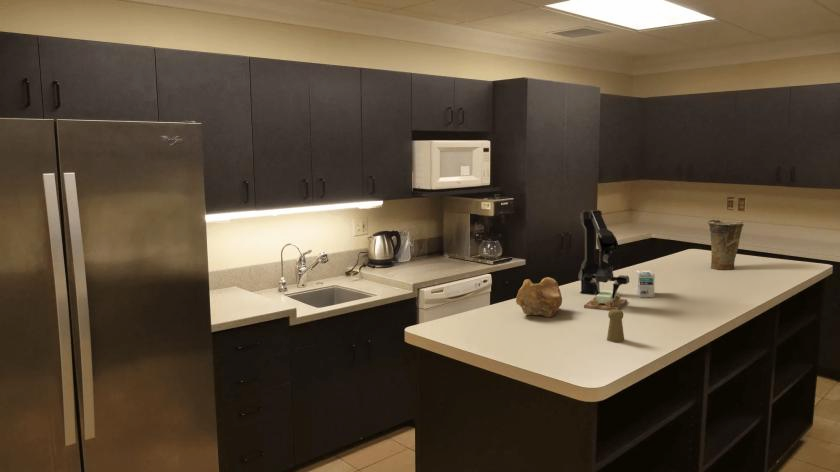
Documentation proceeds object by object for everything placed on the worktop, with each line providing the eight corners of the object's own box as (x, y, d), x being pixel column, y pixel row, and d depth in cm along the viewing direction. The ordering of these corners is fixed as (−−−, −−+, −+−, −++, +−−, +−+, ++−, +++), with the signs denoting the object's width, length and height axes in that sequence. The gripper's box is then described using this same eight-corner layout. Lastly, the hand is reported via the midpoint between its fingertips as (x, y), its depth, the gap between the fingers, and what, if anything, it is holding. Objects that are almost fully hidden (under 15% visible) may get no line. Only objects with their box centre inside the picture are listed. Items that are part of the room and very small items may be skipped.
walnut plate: (584, 307, 272) (584, 300, 272) (595, 299, 287) (595, 292, 287) (616, 311, 265) (616, 303, 265) (627, 302, 280) (627, 295, 280)
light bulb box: (654, 297, 287) (655, 274, 286) (639, 297, 289) (639, 274, 287) (650, 292, 298) (651, 270, 296) (636, 292, 299) (636, 270, 298)
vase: (706, 264, 363) (708, 218, 359) (741, 266, 355) (743, 219, 351) (705, 270, 347) (707, 222, 343) (742, 272, 339) (744, 223, 335)
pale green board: (595, 302, 272) (596, 295, 272) (601, 296, 283) (601, 290, 282) (610, 303, 269) (610, 296, 269) (615, 297, 280) (615, 291, 279)
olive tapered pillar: (604, 337, 228) (604, 308, 226) (620, 337, 228) (620, 307, 227) (610, 342, 222) (610, 312, 221) (627, 341, 222) (627, 311, 221)
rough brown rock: (541, 325, 251) (545, 288, 248) (509, 314, 263) (512, 279, 260) (575, 315, 266) (578, 281, 264) (543, 306, 278) (546, 273, 276)
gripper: (579, 264, 272) (579, 299, 274) (623, 267, 262) (622, 303, 264) (587, 260, 281) (587, 294, 283) (629, 263, 272) (629, 298, 274)
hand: (605, 297), depth 276 cm, fingers closed on pale green board, 6 cm apart
